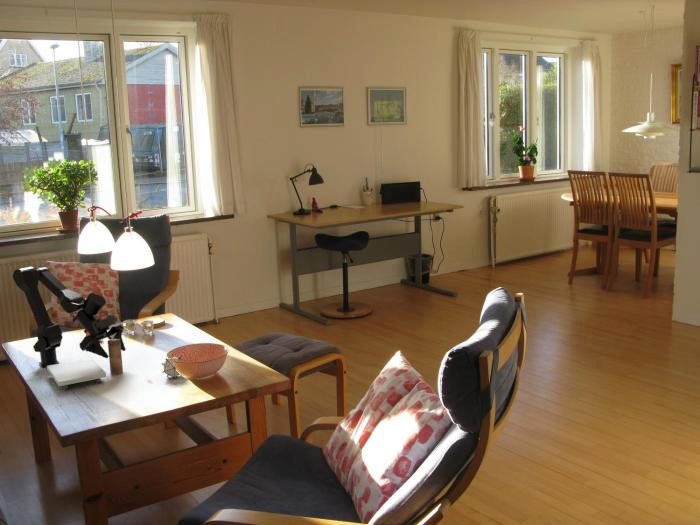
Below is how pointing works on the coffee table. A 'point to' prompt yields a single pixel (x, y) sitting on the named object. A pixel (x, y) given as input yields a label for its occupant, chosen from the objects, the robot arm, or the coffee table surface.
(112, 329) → the robot arm
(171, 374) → the grey spiky ball
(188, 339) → the coffee table surface
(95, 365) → the caster cart
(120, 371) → the cylinder
